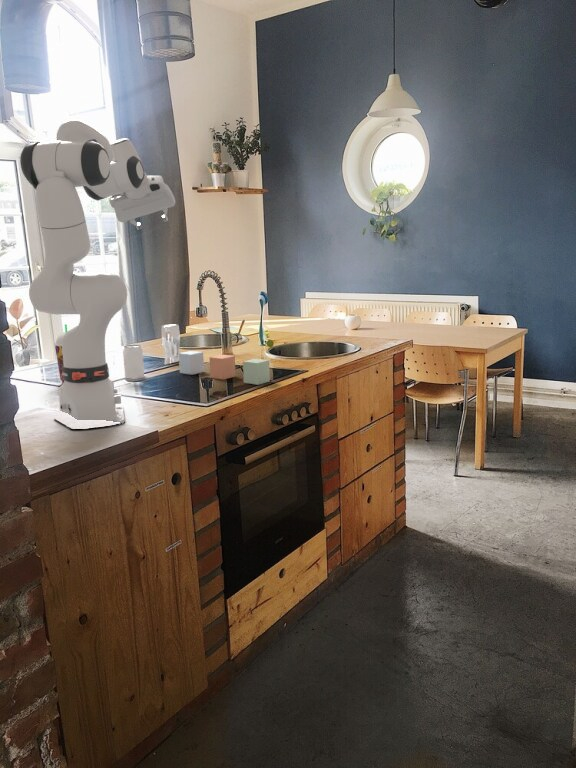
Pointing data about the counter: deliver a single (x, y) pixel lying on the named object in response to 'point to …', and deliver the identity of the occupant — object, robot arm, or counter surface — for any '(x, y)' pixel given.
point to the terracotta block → (222, 366)
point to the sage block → (256, 371)
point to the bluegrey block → (191, 362)
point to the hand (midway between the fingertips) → (152, 224)
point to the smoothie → (60, 353)
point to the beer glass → (171, 342)
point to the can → (133, 362)
